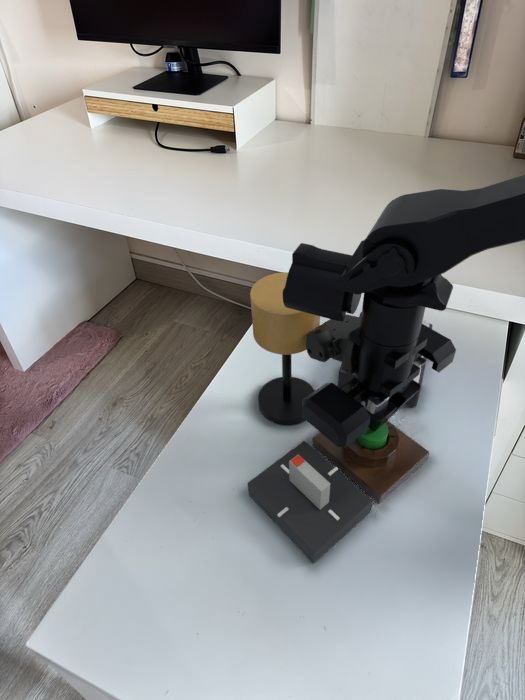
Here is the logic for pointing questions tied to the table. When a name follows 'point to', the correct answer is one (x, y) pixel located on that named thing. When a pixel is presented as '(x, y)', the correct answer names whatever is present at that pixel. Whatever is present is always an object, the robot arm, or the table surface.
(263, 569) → the table surface
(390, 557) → the table surface
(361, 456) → the switch block
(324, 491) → the dimmer knob
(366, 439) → the power button
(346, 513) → the panel
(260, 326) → the desk lamp
